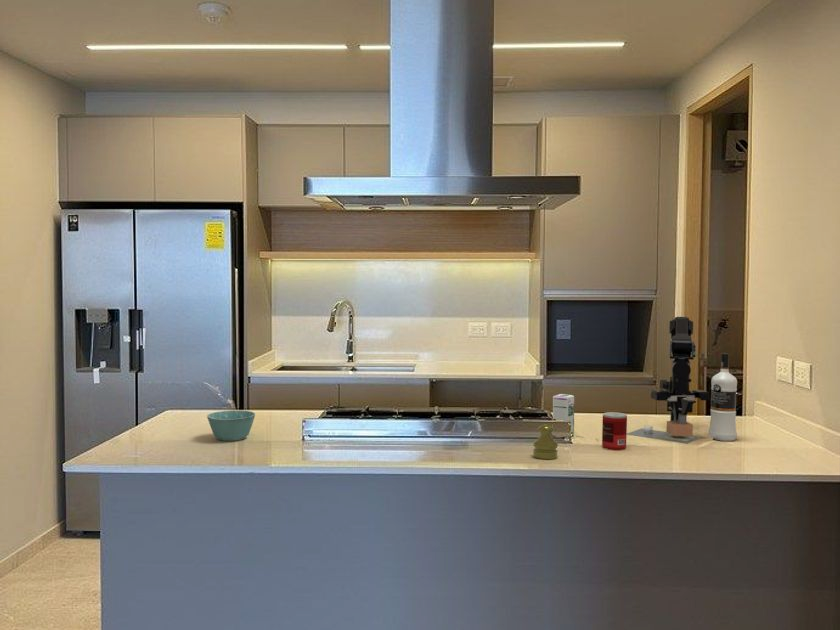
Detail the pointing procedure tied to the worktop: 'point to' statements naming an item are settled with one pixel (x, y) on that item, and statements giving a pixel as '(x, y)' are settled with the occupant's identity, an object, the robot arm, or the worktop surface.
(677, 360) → the robot arm
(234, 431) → the bowl
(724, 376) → the vodka
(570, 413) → the syrup box
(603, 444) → the canned food
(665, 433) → the base
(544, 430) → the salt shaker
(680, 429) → the salmon orange block
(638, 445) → the worktop surface
